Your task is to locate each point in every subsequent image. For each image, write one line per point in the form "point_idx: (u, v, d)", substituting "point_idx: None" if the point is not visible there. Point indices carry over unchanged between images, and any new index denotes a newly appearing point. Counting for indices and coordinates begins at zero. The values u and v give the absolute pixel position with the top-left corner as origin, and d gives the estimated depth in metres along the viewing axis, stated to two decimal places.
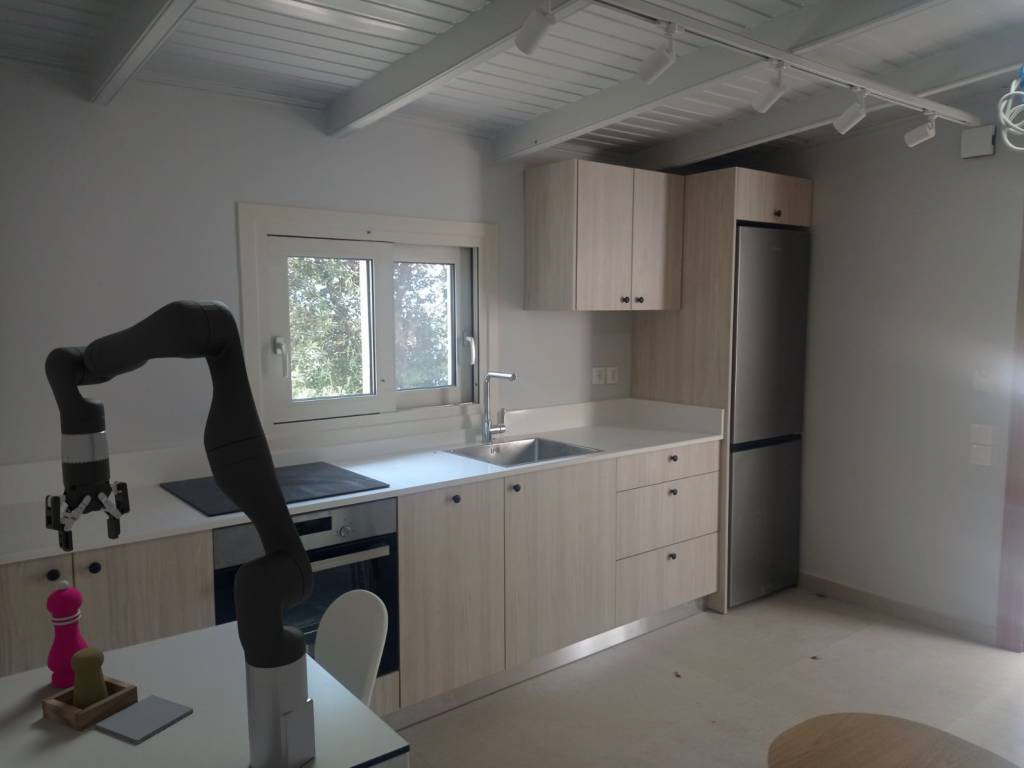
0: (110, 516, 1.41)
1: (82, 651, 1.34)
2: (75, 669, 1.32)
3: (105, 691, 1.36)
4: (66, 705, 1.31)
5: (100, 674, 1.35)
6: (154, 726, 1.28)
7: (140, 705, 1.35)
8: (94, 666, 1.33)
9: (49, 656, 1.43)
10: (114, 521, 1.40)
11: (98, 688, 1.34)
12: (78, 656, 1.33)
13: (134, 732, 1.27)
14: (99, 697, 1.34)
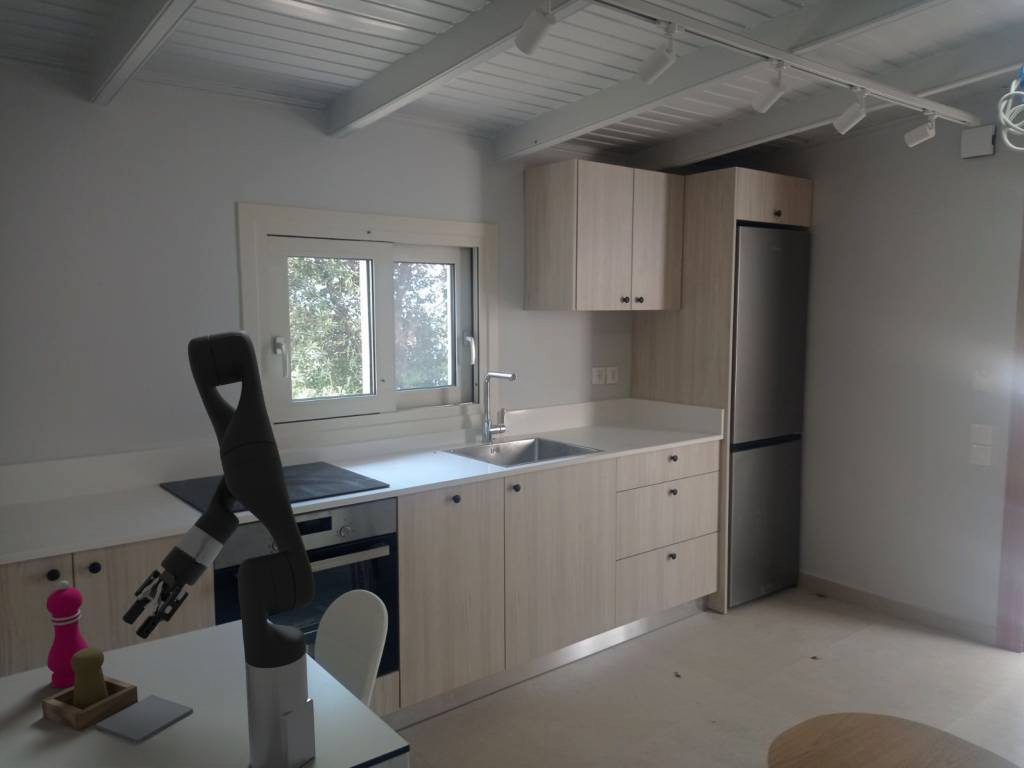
0: None
1: (82, 651, 1.34)
2: (75, 669, 1.32)
3: (105, 691, 1.36)
4: (66, 705, 1.31)
5: (100, 674, 1.35)
6: (154, 726, 1.28)
7: (140, 705, 1.35)
8: (94, 666, 1.33)
9: (49, 656, 1.43)
10: None
11: (98, 689, 1.34)
12: (78, 656, 1.33)
13: (134, 732, 1.27)
14: (99, 697, 1.34)
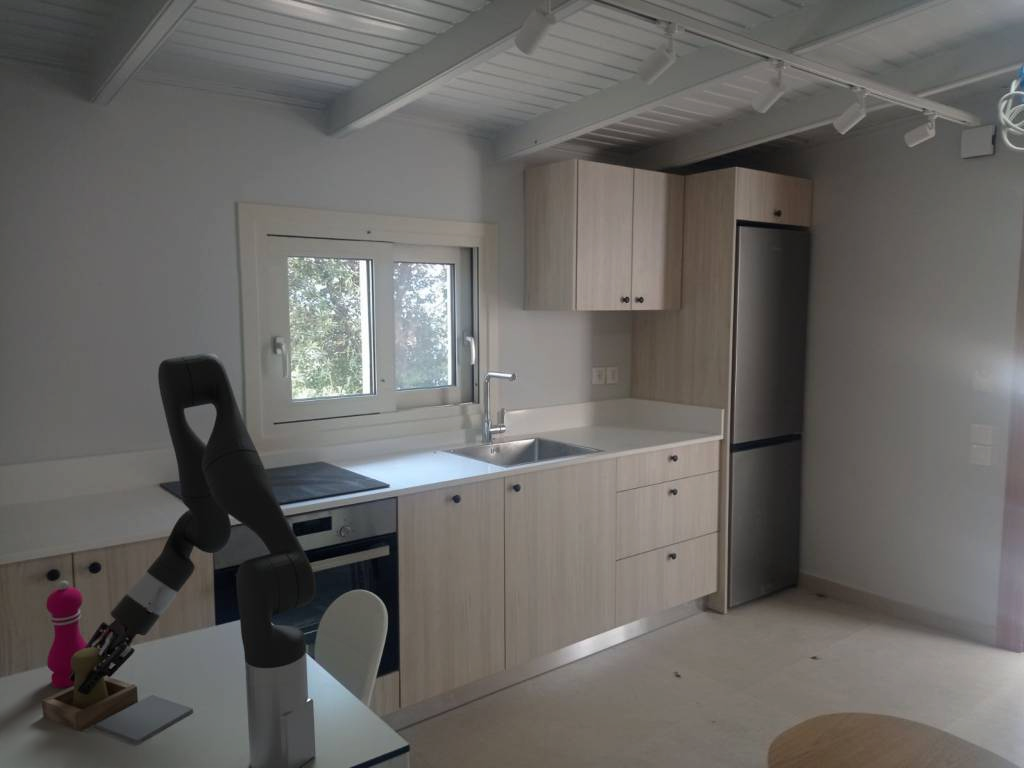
0: None
1: (82, 651, 1.34)
2: (75, 669, 1.32)
3: (105, 691, 1.36)
4: (66, 705, 1.31)
5: None
6: (154, 726, 1.28)
7: (140, 705, 1.35)
8: None
9: (49, 656, 1.43)
10: None
11: (98, 688, 1.34)
12: (78, 656, 1.33)
13: (134, 732, 1.27)
14: (99, 697, 1.34)
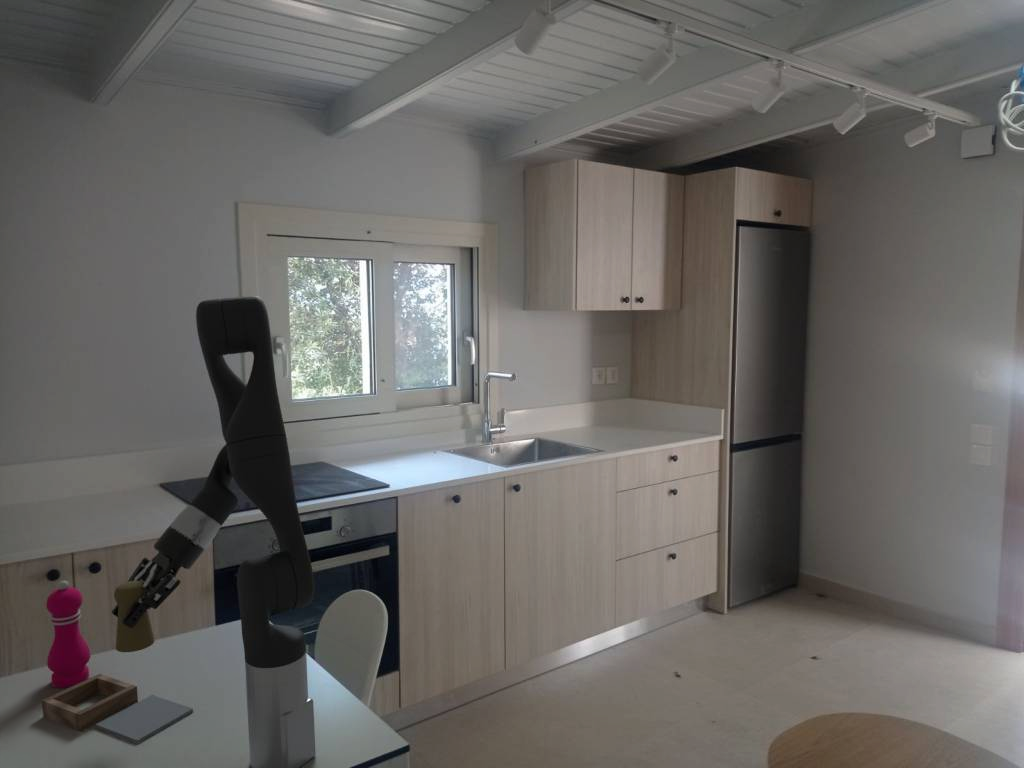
0: None
1: (125, 583, 1.29)
2: (119, 601, 1.27)
3: (149, 625, 1.30)
4: (66, 705, 1.31)
5: None
6: (154, 726, 1.28)
7: (140, 705, 1.35)
8: None
9: (49, 656, 1.43)
10: None
11: (143, 622, 1.29)
12: (122, 588, 1.28)
13: (134, 732, 1.27)
14: (144, 631, 1.29)
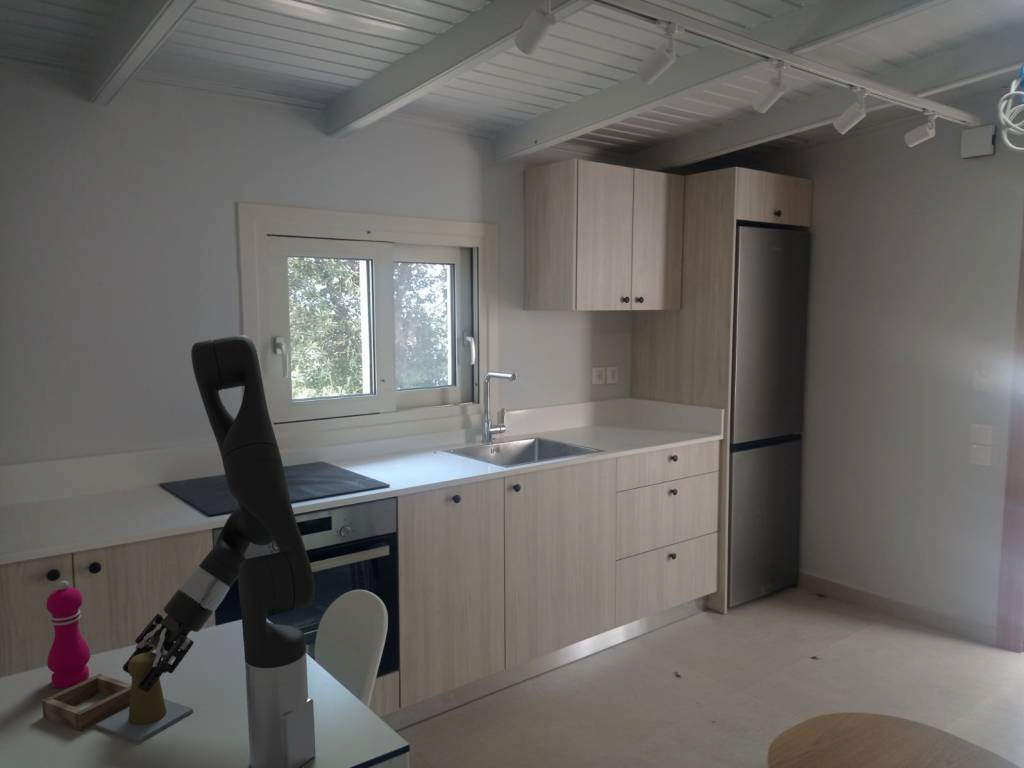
0: None
1: (139, 656, 1.30)
2: (133, 674, 1.29)
3: (162, 697, 1.32)
4: (66, 705, 1.31)
5: (157, 680, 1.31)
6: (154, 726, 1.28)
7: None
8: None
9: (49, 656, 1.43)
10: None
11: (155, 694, 1.30)
12: (136, 661, 1.29)
13: (134, 732, 1.27)
14: (157, 703, 1.30)
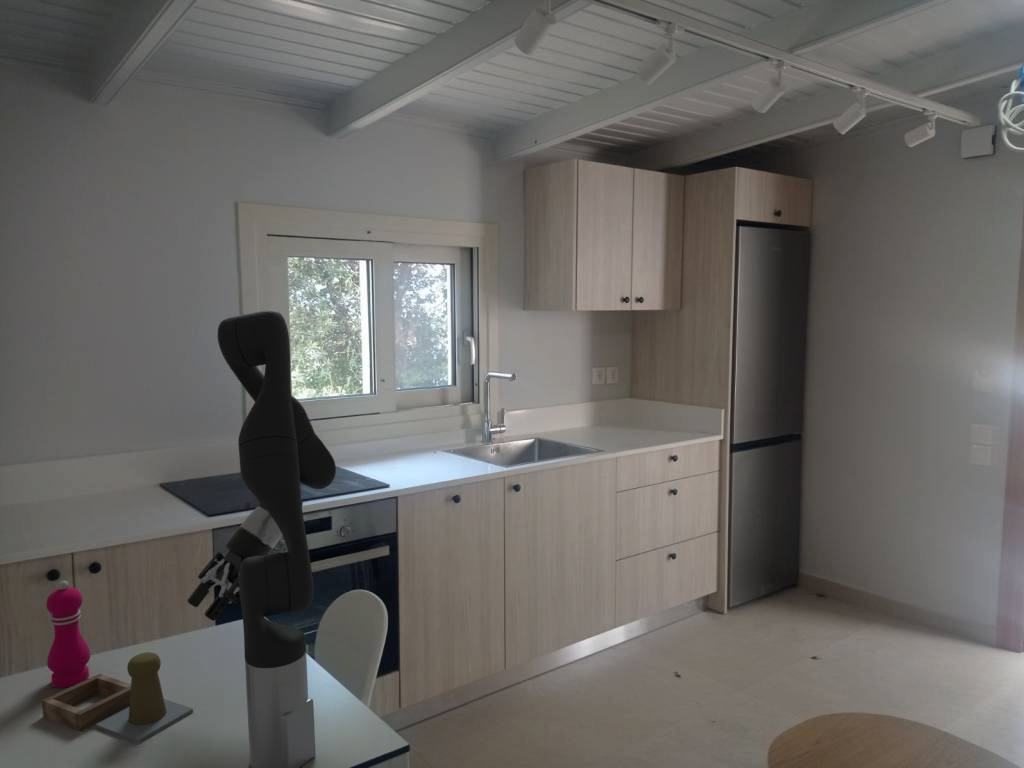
0: None
1: (138, 656, 1.30)
2: (132, 675, 1.29)
3: (162, 697, 1.32)
4: (66, 705, 1.31)
5: (157, 680, 1.31)
6: (154, 726, 1.28)
7: None
8: (152, 672, 1.29)
9: (49, 656, 1.43)
10: None
11: (155, 695, 1.30)
12: (135, 661, 1.29)
13: (134, 732, 1.27)
14: (156, 703, 1.30)
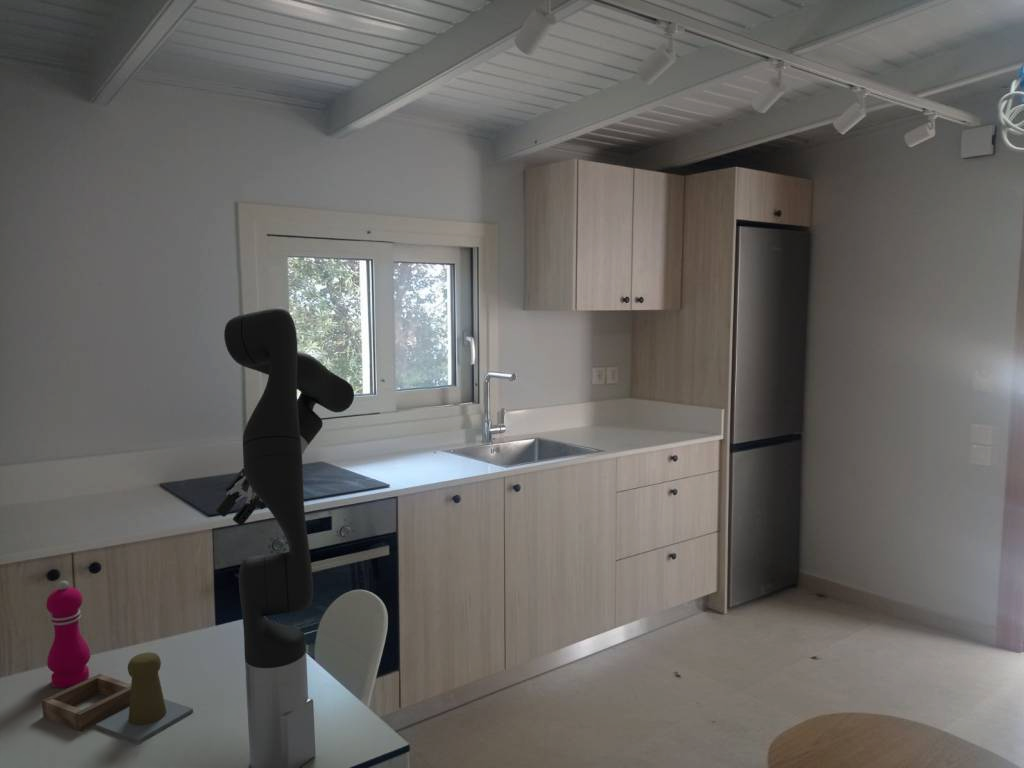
0: None
1: (139, 656, 1.30)
2: (132, 675, 1.29)
3: (162, 697, 1.32)
4: (66, 705, 1.31)
5: (157, 680, 1.31)
6: (154, 726, 1.28)
7: None
8: (152, 672, 1.29)
9: (49, 656, 1.43)
10: None
11: (155, 695, 1.30)
12: (136, 661, 1.29)
13: (134, 732, 1.27)
14: (156, 704, 1.30)
